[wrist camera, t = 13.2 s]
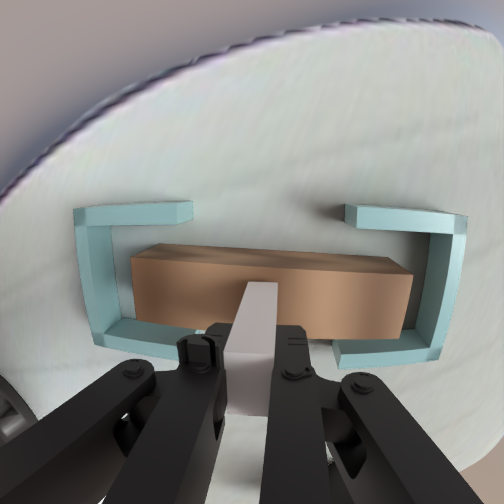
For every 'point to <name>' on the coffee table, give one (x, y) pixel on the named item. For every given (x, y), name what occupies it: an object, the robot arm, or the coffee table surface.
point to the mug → (338, 487)
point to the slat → (288, 296)
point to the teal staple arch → (104, 282)
